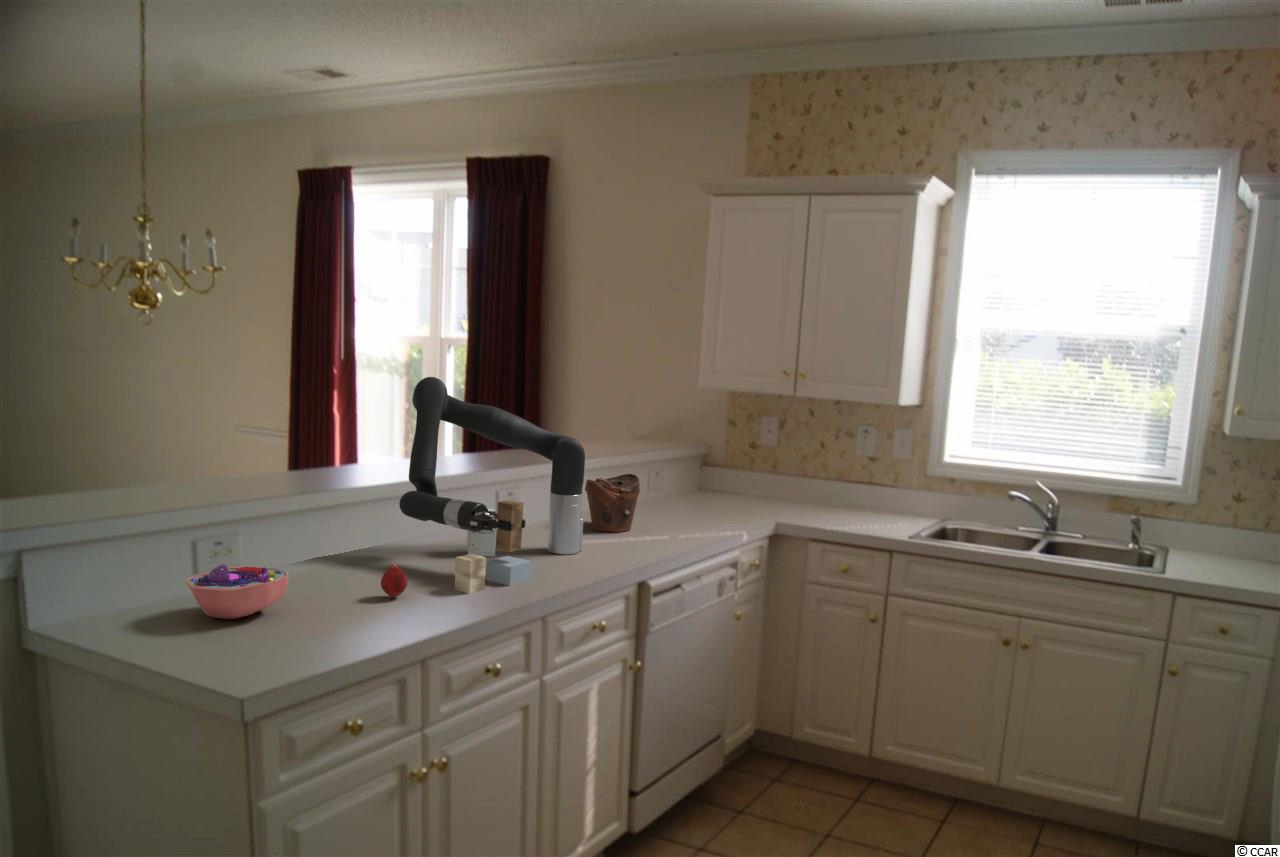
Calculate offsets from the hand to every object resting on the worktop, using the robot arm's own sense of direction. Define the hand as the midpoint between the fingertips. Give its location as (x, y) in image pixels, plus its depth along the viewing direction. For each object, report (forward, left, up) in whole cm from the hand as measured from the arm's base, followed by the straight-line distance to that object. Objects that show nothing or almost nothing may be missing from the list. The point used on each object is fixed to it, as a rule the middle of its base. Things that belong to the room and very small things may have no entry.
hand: (518, 525), depth 219 cm
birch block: (+13, 0, -14) cm, 20 cm away
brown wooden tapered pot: (-66, -35, -15) cm, 75 cm away
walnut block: (+1, -3, -6) cm, 7 cm away
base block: (0, -2, -15) cm, 15 cm away
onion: (+31, -4, -15) cm, 35 cm away
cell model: (+63, -11, -15) cm, 66 cm away
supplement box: (-10, -28, -15) cm, 33 cm away
